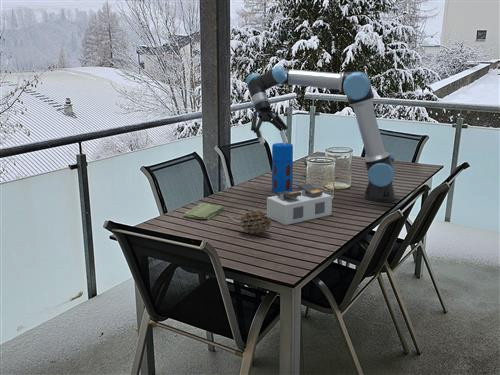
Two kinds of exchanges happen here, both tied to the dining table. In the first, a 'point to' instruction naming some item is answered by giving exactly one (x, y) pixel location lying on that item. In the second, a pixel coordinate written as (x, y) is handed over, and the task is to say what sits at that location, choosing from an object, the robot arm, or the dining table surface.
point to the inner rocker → (310, 190)
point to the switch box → (298, 207)
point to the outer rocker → (289, 194)
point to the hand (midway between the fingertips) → (274, 143)
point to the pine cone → (253, 222)
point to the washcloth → (203, 211)
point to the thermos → (282, 167)
